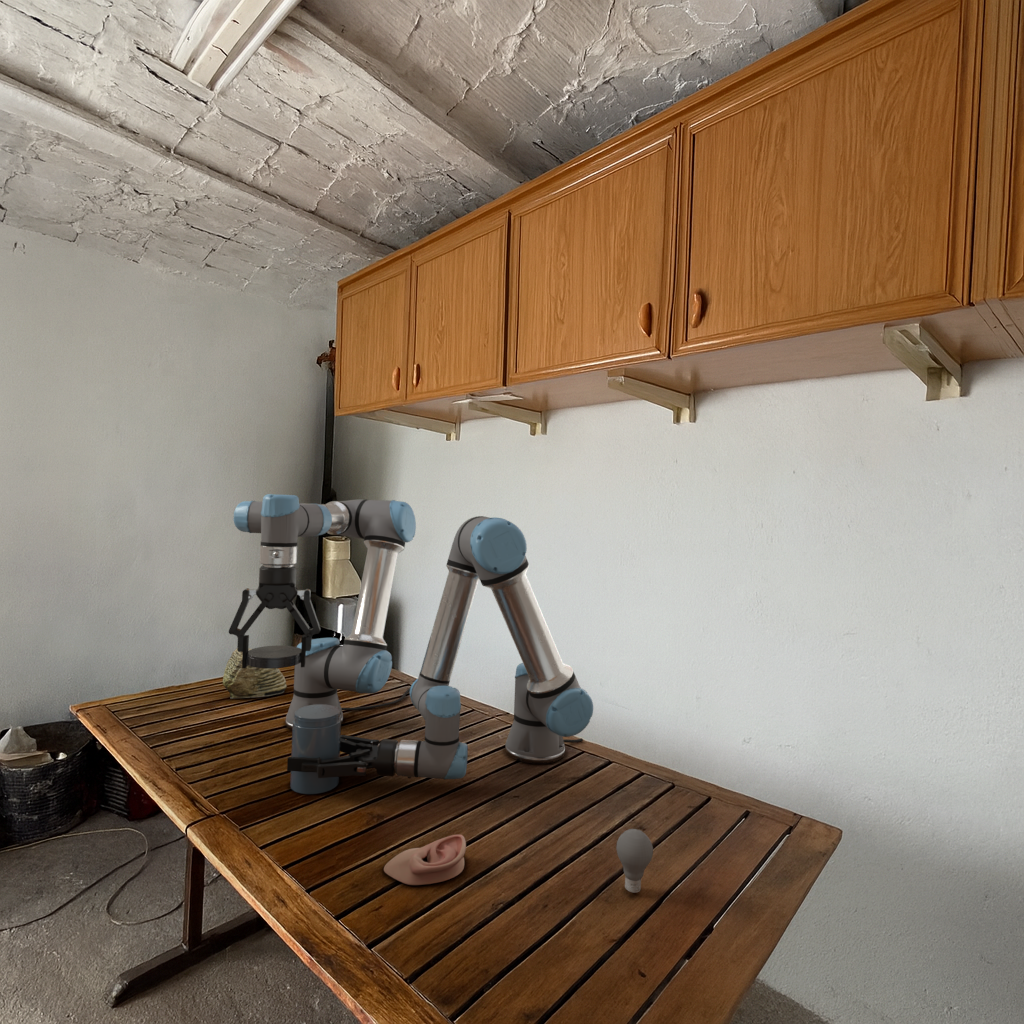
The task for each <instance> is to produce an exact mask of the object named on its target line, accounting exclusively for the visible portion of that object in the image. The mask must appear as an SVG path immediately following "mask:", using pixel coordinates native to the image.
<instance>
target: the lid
mask: <svg viewBox="0 0 1024 1024" xmlns="http://www.w3.org/2000/svg"><path fill="white" fill-rule="evenodd" d="M250 649H251V650H249V651H248V652H247V665H249V666H251V667H256V668H268V669H271V668H278V669H284V668H289V667H290V668H291V667H295V665H297V664H299V663H301V649H300V648H298V647H297V646H292V645H265V646H259V647H255V648H254V647H253V648H250Z"/></svg>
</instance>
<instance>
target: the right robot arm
mask: <svg viewBox="0 0 1024 1024" xmlns="http://www.w3.org/2000/svg"><path fill="white" fill-rule="evenodd" d="M527 549H528V548H527V540H526V537H525V534H524V533H523V531H522V530H521V529H520V527H519V526H517V525H516V524H515V523H513V522H512V521H510V520H507V519H505V518H502V517H496V516H495V517H490V516H489V517H488V516H484V515H479V516H473V517H471V518H468V519H466V520H465V521H464V522H463V523H462V524H461V525H460V526H459V528H458V529H457V531H456V533H455V536H454V537H453V540H452V544H451V547H450V551H449V554H448V559H447V561H446V565H445V566H446V568H447V570H448V574H447V577H446V581H445V584H444V587H443V591H442V594H441V597H440V600H439V601H440V602H439V605H438V609H437V612H436V616H435V618H434V622H433V626H432V629H431V632H430V636H429V640H428V644H427V647H426V650H425V654H424V657H423V661H422V664H421V667H420V671H419V673H418V678H417V679H415V680H414V681H413V683H411V686H410V687H411V688H410V687H409V688H410V691H409V697H410V701H411V703H412V705H413V706H414V708H415V709H416V710H417V711H418V713H419V714H420V715H421V717H422V719H423V720H424V740H423V741H422V740H415V739H414V740H413V739H400V741H398V739H385V738H383V739H381V740H380V739H372V738H371V739H370V738H364V737H360V736H359V737H358V736H353V735H348V734H347V735H346V734H341V739H340V753H344V754H347V755H345V756H340V757H338V758H332V759H326V760H321V758H320V757H319V758H304V757H291V756H288V757H287V762H286V764H287V765H286V771H287V772H291V771H300V772H317V774H318V778H328V777H339V778H340V777H350V776H351V777H352V776H360V777H364V776H365V777H366V775H367V770H370V769H375V770H376V774H377V776H380V777H394V776H395V775H396V776H397V777H401V778H402V777H405V778H407V779H409V780H411V779H412V778H426V779H441V780H460V779H463V778H464V777H465V776H466V774H467V771H468V769H467V768H468V759H469V758H468V756H469V755H468V753H469V751H468V750H469V746H468V744H467V743H466V742H462V741H460V725H461V724H460V721H461V709H462V702H461V691H460V690H459V689H458V688H456V687H453V686H451V685H450V683H451V678H452V675H453V672H454V668H455V664H456V661H457V659H458V658H457V657H458V654H459V650H460V648H461V647H460V646H461V643H462V639H463V636H464V633H465V630H466V626H467V623H468V619H469V616H470V612H471V610H472V605H473V602H474V598H475V596H476V595H475V594H476V591H477V588H478V584H479V581H480V583H481V586H483V587H485V588H488V589H490V590H491V592H492V595H493V597H494V599H495V601H496V604H497V607H498V608H499V610H500V613H501V615H502V618H503V620H504V622H505V625H506V627H507V629H508V631H509V634H510V636H511V638H512V641H513V643H514V645H515V647H516V651H517V653H518V654H519V657H520V659H521V663H519V664H518V665H517V666H516V668H515V675H514V700H513V701H514V704H513V706H514V707H513V722H512V724H511V727H510V730H509V732H508V735H507V738H506V741H505V749H504V751H505V754H506V755H507V756H508V757H510V758H511V759H513V760H516V761H518V762H521V763H527V764H533V765H544V764H545V765H547V764H551V763H556V762H558V761H561V759H563V758H564V757H565V755H566V754H565V753H566V745H565V743H566V744H568V743H569V744H570V743H571V744H578V743H581V742H583V741H584V739H583V738H578V739H577V738H576V739H565V738H569V737H574V736H576V735H578V734H580V733H582V732H584V730H585V729H586V728H587V727H588V725H589V724H590V723H591V719H592V717H593V714H594V703H593V699H592V697H591V695H590V694H589V693H588V692H587V691H586V689H583V688H582V687H581V685H580V683H579V681H578V679H577V677H576V673H575V672H574V670H573V667H572V666H570V665H569V664H566V663H564V662H563V660H562V657H561V655H560V653H559V652H560V651H559V650H558V648H557V645H556V643H555V640H554V638H553V636H552V633H551V631H550V628H549V626H548V624H547V622H546V619H545V617H544V613H543V612H542V610H541V606H540V605H539V602H538V600H537V597H536V595H535V593H534V590H533V588H532V585H531V582H530V581H529V578H528V576H527V572H528V570H529V567H530V563H529V561H528V559H527V556H526V553H527V552H528V551H527Z"/></svg>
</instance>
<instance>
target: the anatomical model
mask: <svg viewBox="0 0 1024 1024" xmlns="http://www.w3.org/2000/svg"><path fill="white" fill-rule="evenodd" d="M466 851H467V841H466V838H465V836H464V835H463V834H452V835H448V836H445V837H442V838H439V839H437V840H435V841H432V842H430V843H428V844H426V845H424V846H421V847H412V848H409V849H405V850H403V851H402V852H400V853H398V854H395V856H394V857H392V858H391V859H390V860H389V861H387V863H386V864H385V865H384V867H383V872H384V873H385V874H386V875H387V876H389V877H390V878H392V879H394V880H395V881H398V882H400V883H402V884H405V885H407V886H408V885H409V886H422V885H431V884H437V883H441V882H445V881H448V880H450V879H453V878H455V877H457V876H458V875H460V874H461V873H462V872H463V870H464V868H465V857H464V856H465V854H466Z"/></svg>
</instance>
